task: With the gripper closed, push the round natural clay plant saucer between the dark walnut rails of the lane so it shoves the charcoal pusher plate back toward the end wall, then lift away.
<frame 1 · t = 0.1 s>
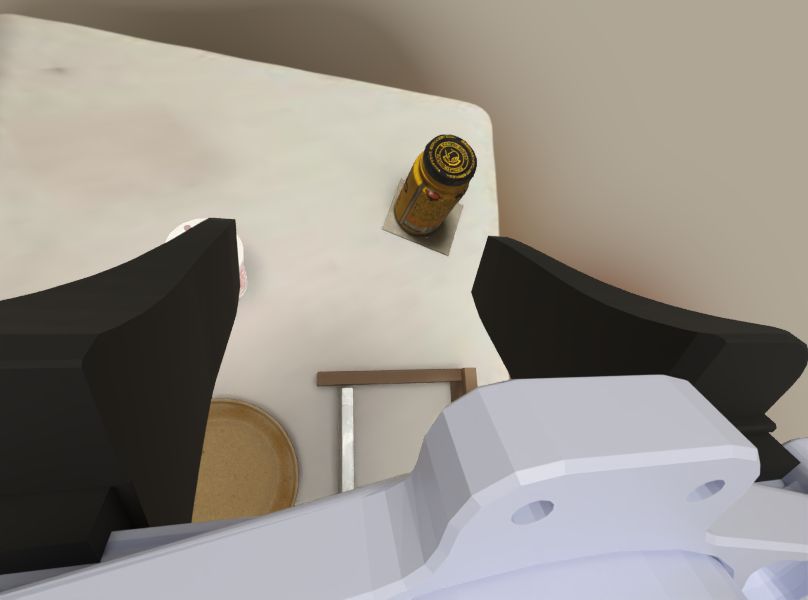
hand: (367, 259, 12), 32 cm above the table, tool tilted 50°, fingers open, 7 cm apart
plant saucer: (217, 480, 38), on the table
saucer lane: (321, 472, 39), on the table
beverage cup: (224, 283, 42), on the table
pusher plate: (345, 474, 38), point 2 cm above the table, slide at 11.0 cm
condiment: (423, 218, 49), on the table
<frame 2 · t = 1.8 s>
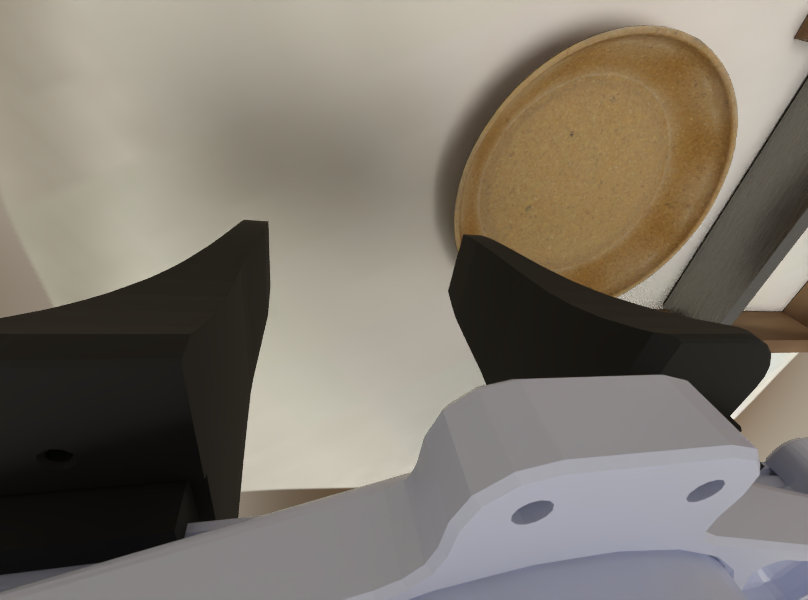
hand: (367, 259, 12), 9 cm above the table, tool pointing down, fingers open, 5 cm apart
plant saucer: (566, 182, 23), on the table
saucer lane: (705, 199, 25), on the table
pusher plate: (763, 216, 23), point 2 cm above the table, slide at 11.0 cm
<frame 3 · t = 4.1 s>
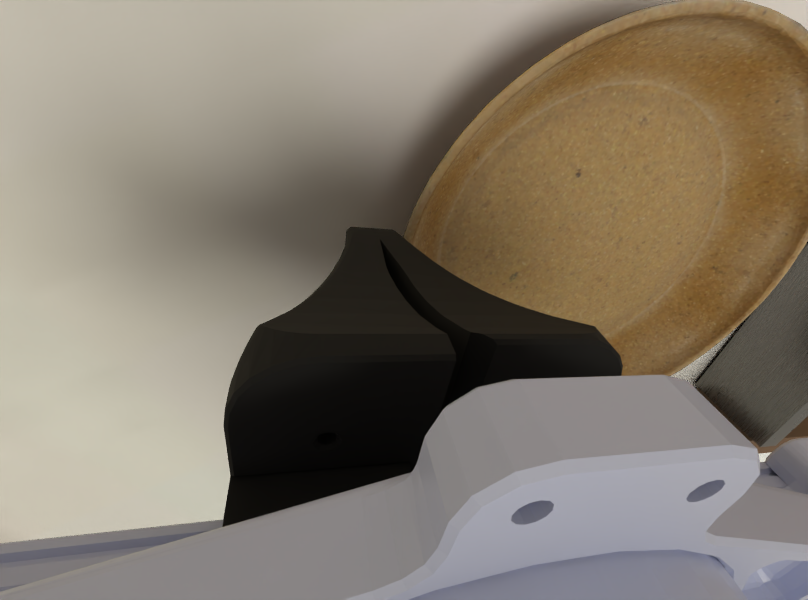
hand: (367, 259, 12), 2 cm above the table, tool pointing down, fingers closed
plant saucer: (570, 238, 16), on the table, touching gripper
saucer lane: (764, 256, 18), on the table
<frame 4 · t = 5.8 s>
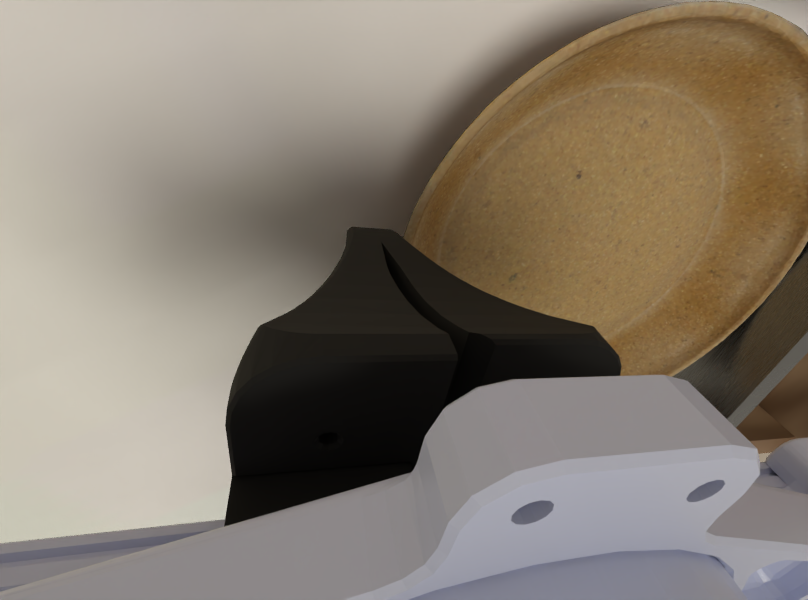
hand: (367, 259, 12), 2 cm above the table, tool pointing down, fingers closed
plant saucer: (569, 240, 16), on the table, touching gripper
saucer lane: (592, 246, 15), on the table
pusher plate: (781, 281, 15), point 2 cm above the table, slide at 6.1 cm
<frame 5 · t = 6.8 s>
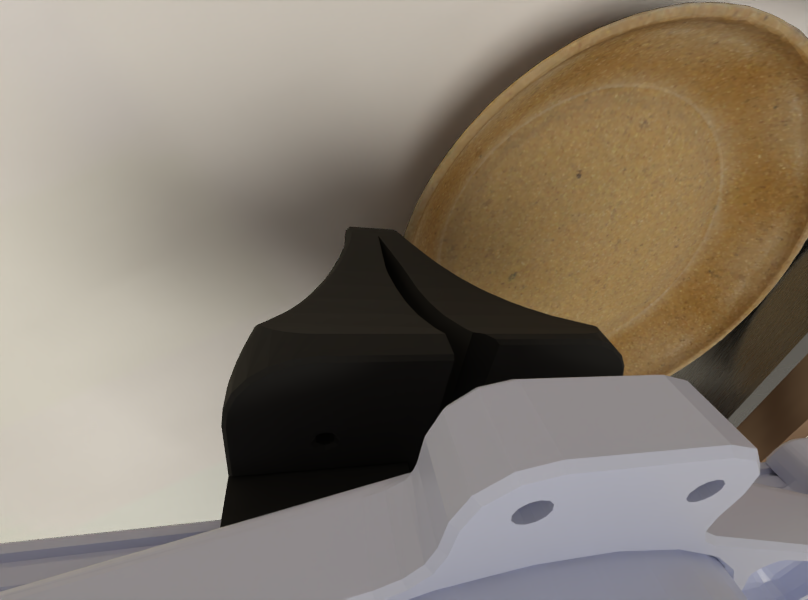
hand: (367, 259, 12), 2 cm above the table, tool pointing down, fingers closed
plant saucer: (569, 239, 16), on the table
saucer lane: (512, 240, 15), on the table
pusher plate: (782, 281, 15), point 2 cm above the table, slide at 2.6 cm
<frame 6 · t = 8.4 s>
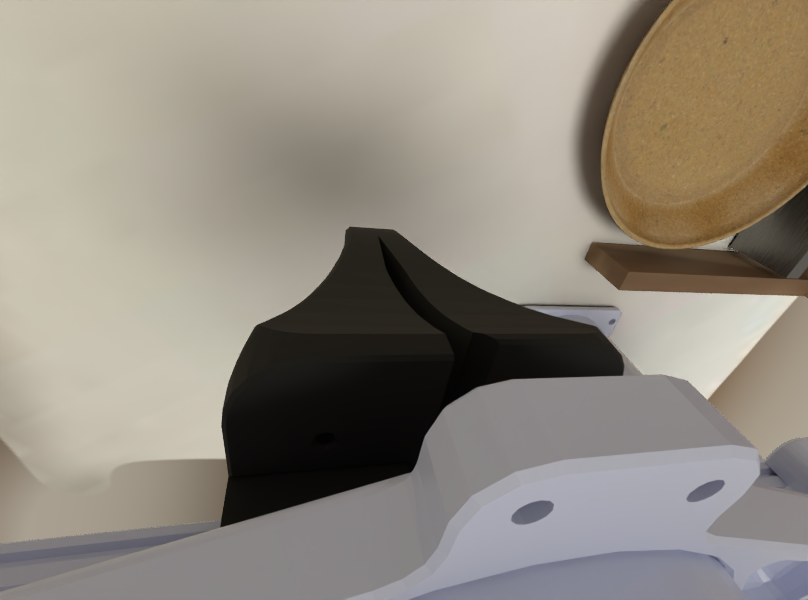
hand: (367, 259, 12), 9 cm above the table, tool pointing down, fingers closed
plant saucer: (702, 102, 21), on the table
saucer lane: (669, 95, 20), on the table
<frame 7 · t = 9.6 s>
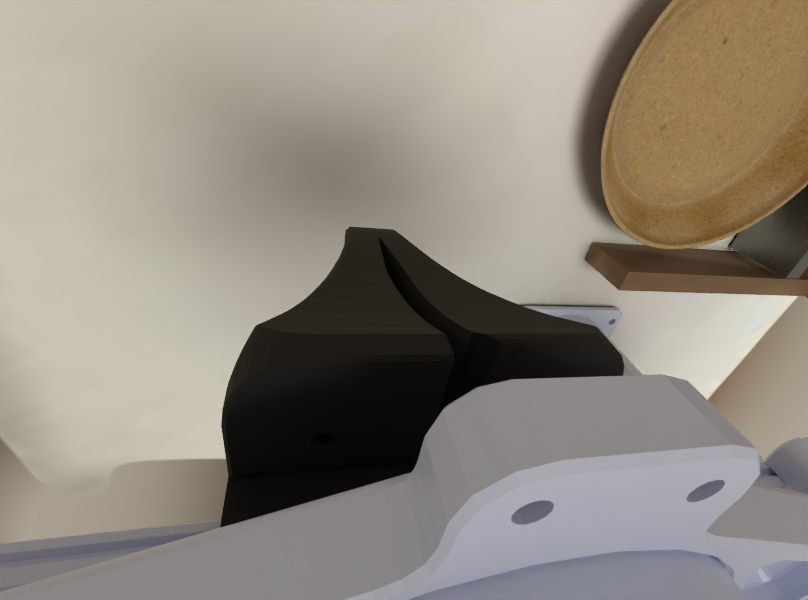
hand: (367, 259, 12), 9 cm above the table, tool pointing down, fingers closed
plant saucer: (702, 102, 21), on the table
saucer lane: (669, 95, 20), on the table
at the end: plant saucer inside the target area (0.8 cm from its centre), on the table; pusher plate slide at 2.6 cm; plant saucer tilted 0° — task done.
